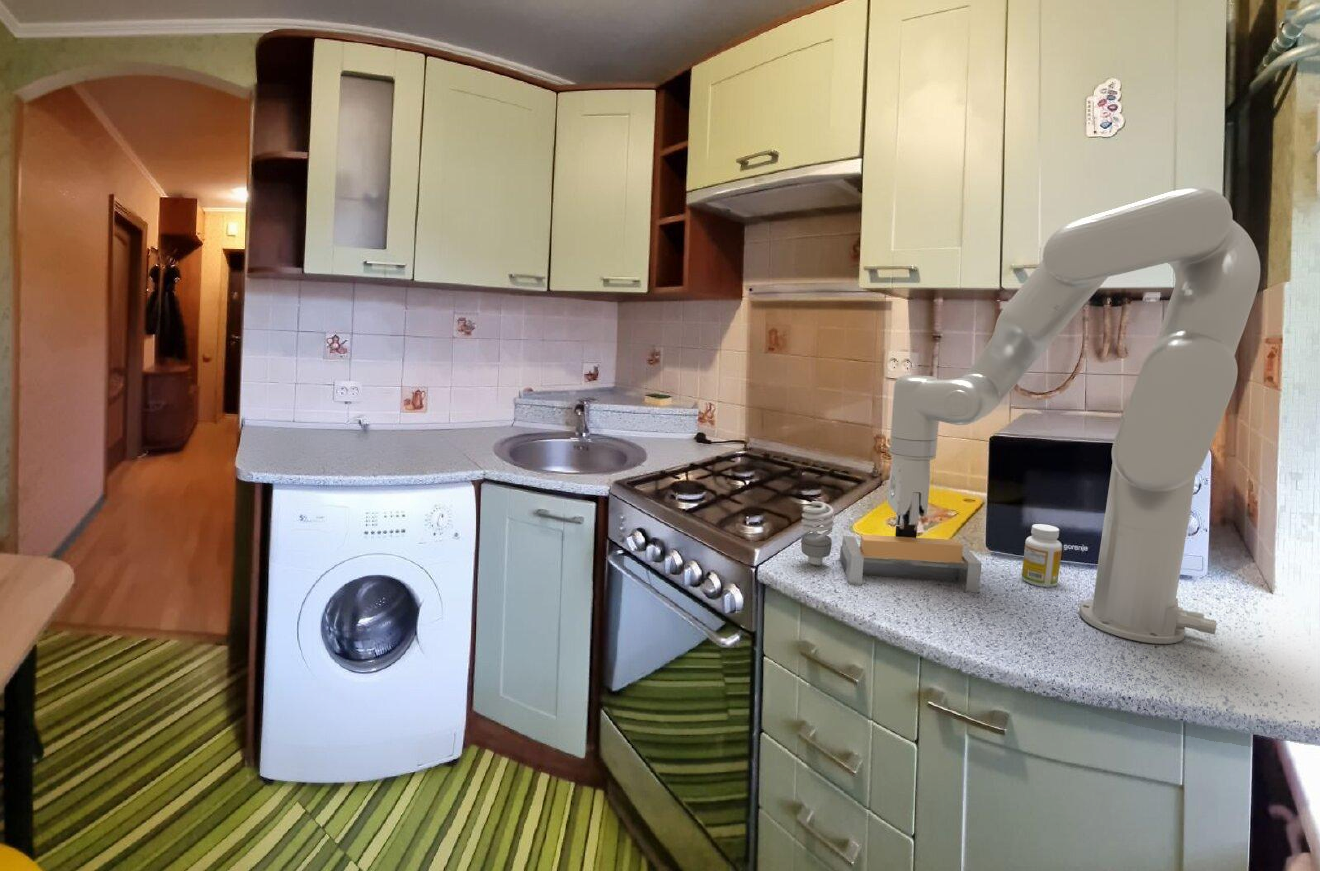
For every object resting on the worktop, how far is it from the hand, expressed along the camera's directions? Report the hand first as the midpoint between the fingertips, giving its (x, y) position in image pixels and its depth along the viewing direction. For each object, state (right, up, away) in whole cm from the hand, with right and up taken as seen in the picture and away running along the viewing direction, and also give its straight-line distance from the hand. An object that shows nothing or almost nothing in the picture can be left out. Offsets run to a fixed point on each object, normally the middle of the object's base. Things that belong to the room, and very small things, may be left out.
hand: (904, 549), depth 114 cm
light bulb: (-15, -4, +3) cm, 16 cm away
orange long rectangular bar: (-1, -1, -4) cm, 4 cm away
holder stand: (0, -4, -1) cm, 4 cm away
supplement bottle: (+22, -5, -3) cm, 23 cm away
